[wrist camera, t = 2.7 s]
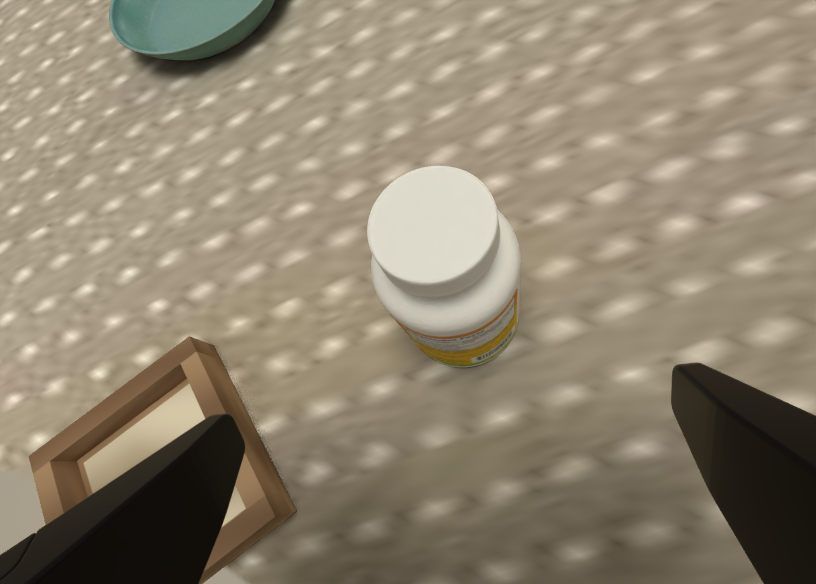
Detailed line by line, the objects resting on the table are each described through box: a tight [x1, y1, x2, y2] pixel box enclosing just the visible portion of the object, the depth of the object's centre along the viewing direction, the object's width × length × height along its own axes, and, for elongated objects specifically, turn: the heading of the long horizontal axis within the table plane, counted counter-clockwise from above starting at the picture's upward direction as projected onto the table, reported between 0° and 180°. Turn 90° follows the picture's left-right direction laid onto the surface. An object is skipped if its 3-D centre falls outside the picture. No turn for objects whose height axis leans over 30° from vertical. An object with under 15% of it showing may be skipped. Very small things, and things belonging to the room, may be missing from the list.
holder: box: [29, 337, 296, 584], centre depth 21 cm, size 10×10×2 cm
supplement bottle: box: [367, 166, 521, 367], centre depth 17 cm, size 5×5×10 cm
